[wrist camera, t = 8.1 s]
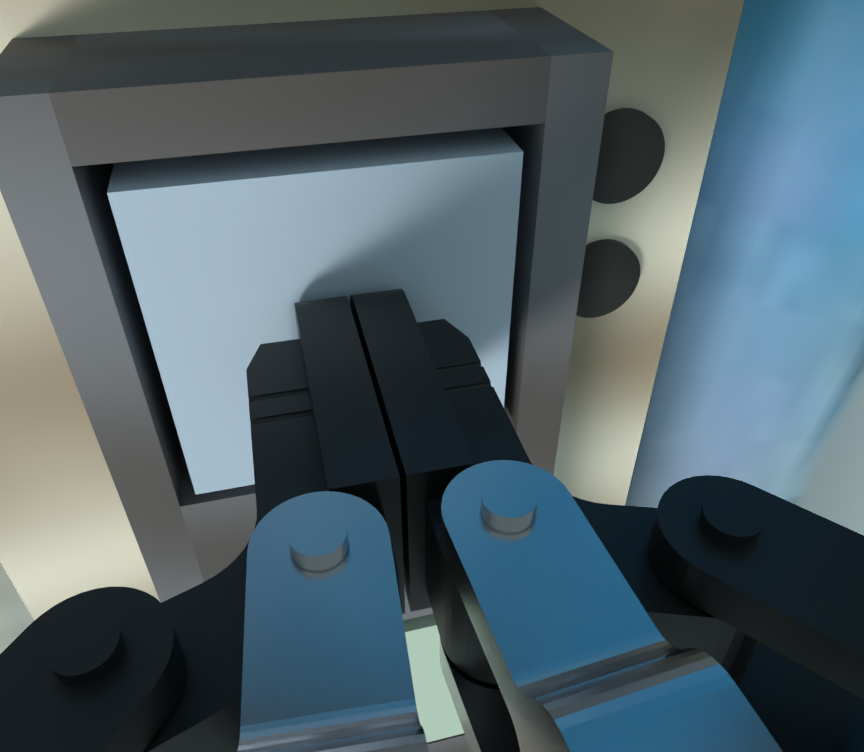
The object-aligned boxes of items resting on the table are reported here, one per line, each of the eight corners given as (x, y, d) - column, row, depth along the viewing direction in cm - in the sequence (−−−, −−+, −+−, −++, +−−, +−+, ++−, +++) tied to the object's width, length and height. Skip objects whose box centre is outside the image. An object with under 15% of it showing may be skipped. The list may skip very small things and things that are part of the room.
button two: (461, 357, 14) (501, 440, 12) (196, 398, 13) (195, 494, 11) (470, 93, 11) (522, 151, 9) (123, 122, 10) (107, 192, 8)
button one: (453, 646, 20) (479, 729, 19) (272, 687, 19) (279, 780, 18) (457, 527, 17) (487, 614, 15) (240, 570, 16) (246, 667, 15)
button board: (531, 720, 31) (581, 862, 27) (193, 805, 29) (192, 978, 25) (669, -129, 13) (897, -95, 9) (-246, -107, 10) (-557, -41, 6)
